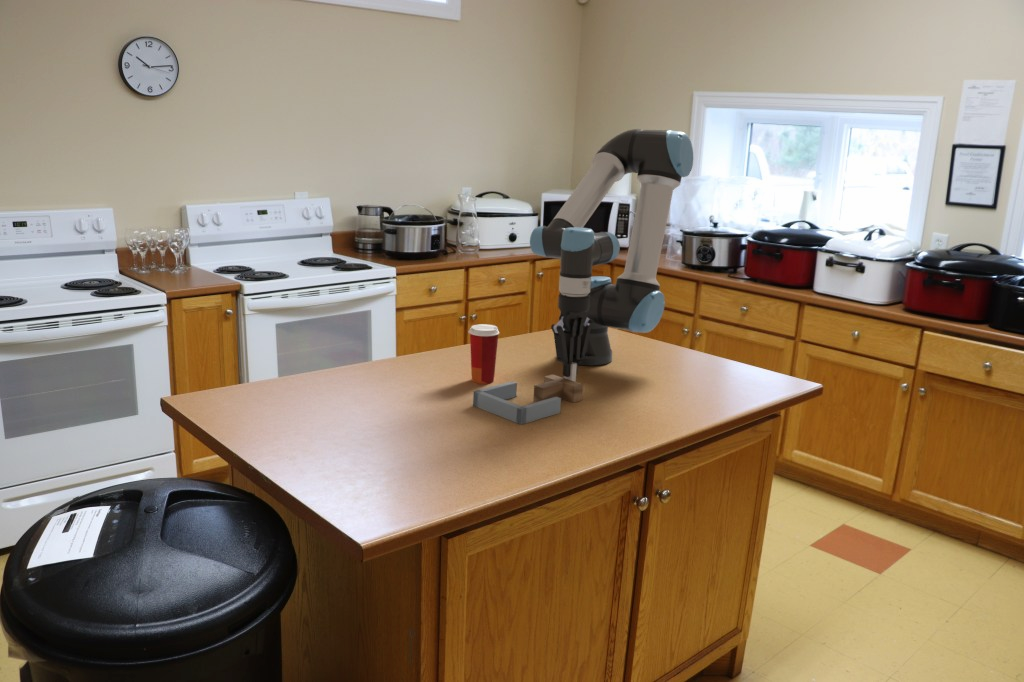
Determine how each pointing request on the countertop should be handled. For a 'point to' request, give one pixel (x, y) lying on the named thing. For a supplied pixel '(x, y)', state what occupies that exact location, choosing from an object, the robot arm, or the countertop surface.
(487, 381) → the paper cup
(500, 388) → the corral
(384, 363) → the countertop surface
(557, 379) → the tee block
